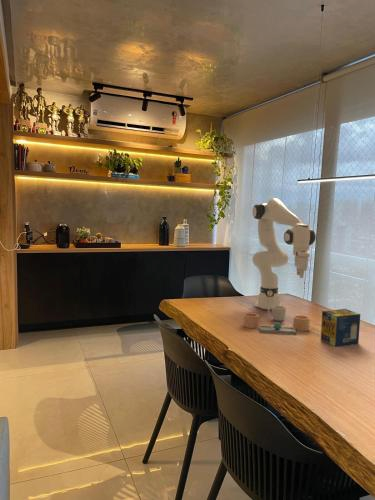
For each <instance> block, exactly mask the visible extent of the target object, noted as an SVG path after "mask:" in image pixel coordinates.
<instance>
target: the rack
mask: <svg viewBox="0 0 375 500" xmlns="http://www.w3.org/2000/svg"><path fill="white" fill-rule="evenodd" d="M258 329H259V333H263V334H278V335H279V334H282V335H283V334H284V335H297V330H295V328H294V327H293V326H292V327H291V326H281V328H280V329H278V330H277V329H275V328H274V325H259V327H258Z"/></svg>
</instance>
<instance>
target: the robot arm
mask: <svg viewBox="0 0 375 500" xmlns="http://www.w3.org/2000/svg"><path fill="white" fill-rule="evenodd" d="M251 210H252V211H251V212H252V216H253V218H254V219H255V220H258V221H257V231H258V240H259V244H260V245H261V246H262V247H264V248H265V249H266V250H263V251H262V250H261V251H257V252H255V253H254V254H253V256H252V259H251V261H252V264H253V265H254V266H255V267H256V268H257V269H258V271H259V273H260V280H261V281H260V284H261V285H260V288H259V289H260V290H259V291H260V293H258V295H257V296H256V299H257V300H256V302H255V304H254V307H256V308H259V309H263V310H268V309H269V308H272V307H273V306H282V305H281V296H280V294H279V286H278V285H279V282H278V280H279V277H278V275H277V274H276V273H275V272H273V271H272V268H280V267H284V266H286V265H287V264H288V262H289V256H288V254H287V253H286V251H284V250H282V248H281V247H280V246H279V244H278V242H277V239H276V233H275V228H274V222H275V223H276V224H278V225H284V226H289V227H292V228H290V229H289V228H287V230H285V232H284V234H283V241H284V242H285V244H287V245H289V246H292V247H293V248H292V255H293V256H294V266H295V268H296V275H297V276H299V278H300V279H304V275H305V271H307V270H308V265H309V258H310V255H311V254H310V247H311V246H312V245H313V244H314V243H315V241H316V238H317V237H316V232H315V231H314V230H313V228H310V226H309V225H308V224H307V223H305V222H304V221H302V220H301V218H300V217H299V216H297V215H296V214H294V213H292V211H290V210H289V209H288V208H287V207H286V205H285V204H284V203H283V202H282V201H281V200H280V199H278V198H275V197H274V198H271V199H269V200H268V202H266V203H257V204H254V205H253V206H252V209H251Z"/></svg>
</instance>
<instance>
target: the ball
mask: <svg viewBox="0 0 375 500" xmlns="http://www.w3.org/2000/svg"><path fill="white" fill-rule="evenodd" d="M273 326H274V328H275V329H277V330H278V329H280V328H281V327H282V324H281V322H280V321H276V322H274V324H273Z"/></svg>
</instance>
